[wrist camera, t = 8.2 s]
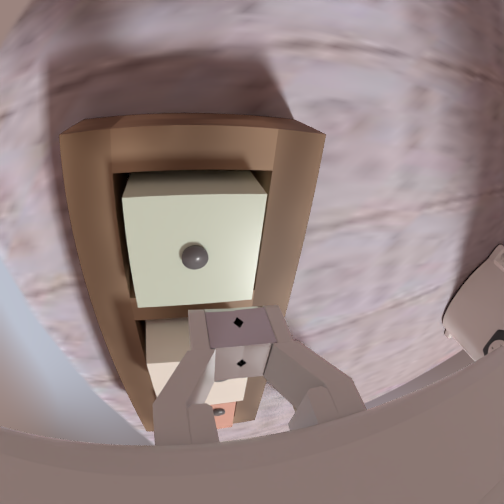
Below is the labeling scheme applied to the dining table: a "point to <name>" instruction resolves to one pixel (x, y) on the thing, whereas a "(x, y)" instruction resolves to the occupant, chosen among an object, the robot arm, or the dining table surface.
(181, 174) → the tile
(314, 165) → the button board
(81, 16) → the dining table surface
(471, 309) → the robot arm
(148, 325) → the tile
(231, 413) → the three-pip tile
